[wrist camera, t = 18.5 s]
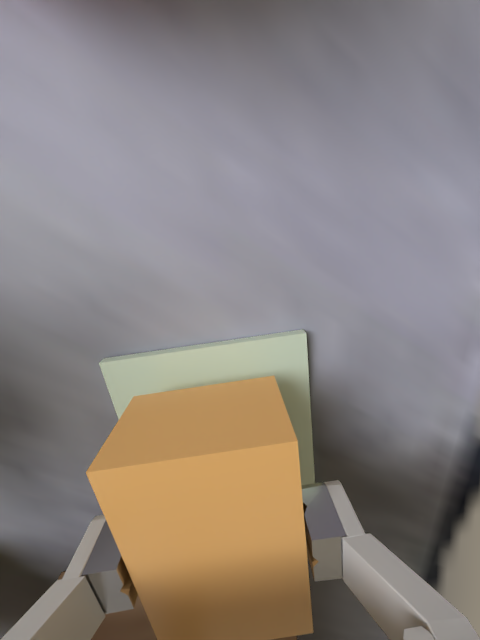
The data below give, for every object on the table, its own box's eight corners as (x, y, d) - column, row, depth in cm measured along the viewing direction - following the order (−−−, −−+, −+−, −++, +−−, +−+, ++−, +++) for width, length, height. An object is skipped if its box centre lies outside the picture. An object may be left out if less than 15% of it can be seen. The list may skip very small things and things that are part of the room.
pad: (314, 508, 13) (317, 516, 12) (162, 531, 13) (160, 539, 12) (303, 329, 10) (306, 332, 9) (103, 358, 10) (98, 363, 9)
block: (291, 531, 11) (313, 632, 8) (181, 547, 11) (164, 656, 8) (274, 375, 9) (297, 441, 6) (133, 396, 8) (85, 472, 6)
